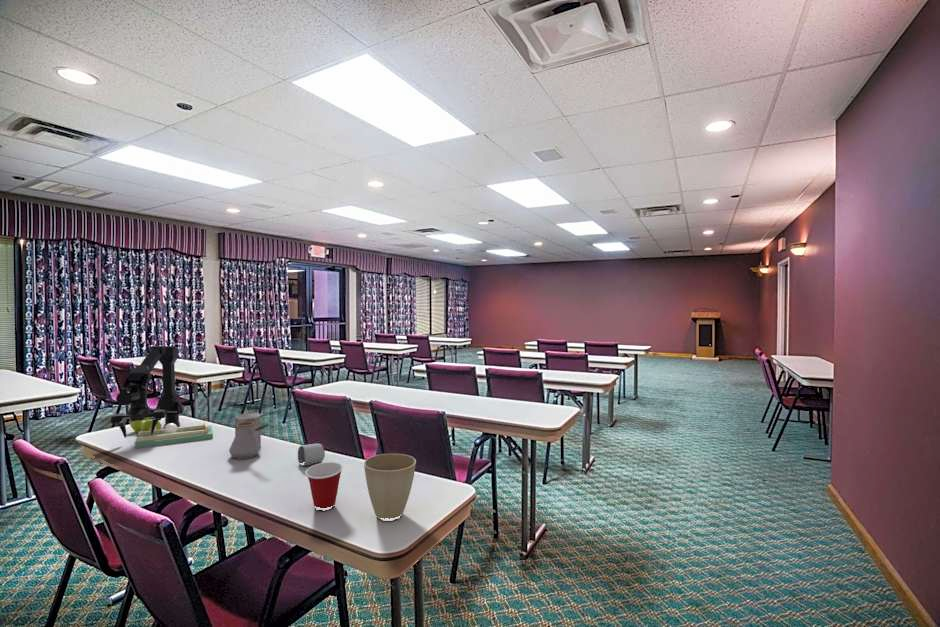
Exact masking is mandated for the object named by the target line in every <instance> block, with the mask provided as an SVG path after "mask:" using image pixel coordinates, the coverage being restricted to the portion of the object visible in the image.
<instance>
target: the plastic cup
mask: <svg viewBox="0 0 940 627" xmlns="http://www.w3.org/2000/svg"><path fill="white" fill-rule="evenodd" d="M343 468H344V467H343V464H341V463H339V462H334V461H328V462H327V461H326V462H319V463H315V464H312V465H311V466H310V467H308V468H307V469H306V470H305V472H304V473H305V475H306V477H307V479H308V482H309V488H310V492H311V498H312V500H313V501H312V502H313V503H312V504H313V507H314V506H316V507H320V508H327V507H331V506H333V505H336V501H337V496H338V491H339V490H338V489H339V485H340V484H339V483H340V478H341V475H342V472H343Z"/></svg>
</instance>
